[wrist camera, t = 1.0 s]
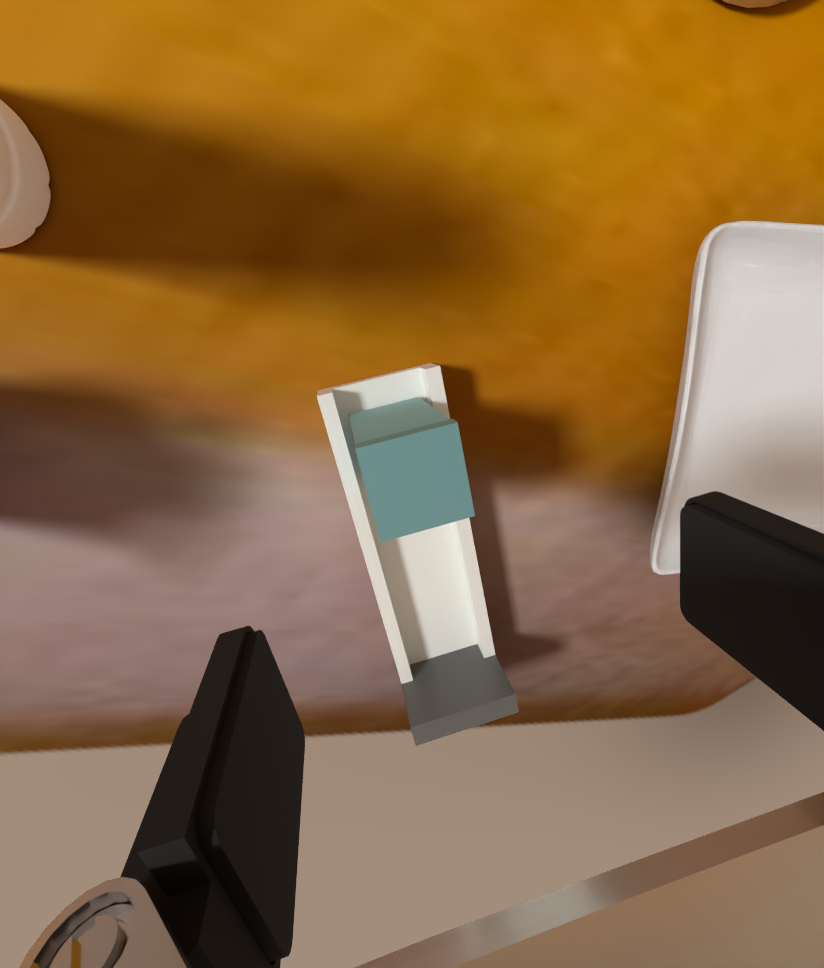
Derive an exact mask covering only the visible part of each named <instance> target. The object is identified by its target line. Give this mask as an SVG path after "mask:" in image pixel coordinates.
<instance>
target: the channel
mask: <svg viewBox="0 0 824 968" xmlns="http://www.w3.org/2000/svg"><path fill="white" fill-rule="evenodd" d="M415 397H419V398H420V399H422V400H423V401H425V402H426V403H428V404H429V405H430V406H432V407H433V408H435V409H436V410H438V411H439V412H441V413H442V414H443V415H445V416H446V417H448V418H449V419H450V415H449V410H448V405H447V400H446V394H445V389H444V384H443V379H442V373H441V368H440V366H439V365H436V364H432V363H428V364H424V365H420V366H416V367H412V368H408V369H404V370H399V371H395V372H391V373H387V374H383V375H379V376H375V377H371V378H367V379H363V380H359V381H355V382H351V383H347V384H343V385H338V386H334V387H330V388H326V389H322V390H318V393H317V399H318V402H319V405H320V409H321V412H322V415H323V419H324V422H325V426H326V429H327V432H328V436H329V439H330V443H331V446H332V449H333V453H334V456H335V460H336V463H337V466H338V470H339V473H340V477H341V480H342V483H343V487H344V490H345V493H346V497H347V500H348V504H349V507H350V510H351V514H352V517H353V521H354V524H355V527H356V531H357V534H358V538H359V541H360V544H361V548H362V551H363V554H364V558H365V561H366V565H367V568H368V571H369V575H370V578H371V582H372V585H373V588H374V592H375V595H376V599H377V602H378V605H379V609H380V612H381V616H382V619H383V622H384V626H385V629H386V632H387V636H388V639H389V643H390V646H391V649H392V653H393V656H394V660H395V663H396V666H397V670H398V673H399V677H400V680H401V683H402V688H403V693H404V698H405V703H406V707H407V712H408V717H409V722H410V727H411V731H412V734H413V737H414V740H415V744H416V746H417V745H420V744H423V743H426V742H429V741H432V740H435V739H438V738H441V737H444V736H447V735H450V734H453V733H456V732H459V731H462V730H466V729H469V728H472V727H475V726H478V725H481V724H484V723H487V722H490V721H493V720H496V719H499V718H502V717H505V716H508V715H511V714H515V713H518V712H519V710H518V705H517V699H516V694H515V692H514V690H513V688H512V686H511V684H510V682H509V680H508V678H507V676H506V674H505V672H504V670H503V669H502V667H501V665H500V663H499V661H498V659H497V657H496V655H495V650H494V645H493V640H492V634H491V629H490V624H489V619H488V614H487V608H486V603H485V598H484V593H483V587H482V582H481V577H480V572H479V567H478V561H477V556H476V551H475V546H474V540H473V535H472V530H471V525H470V520H469V518H466V519H463V520H459V521H456V522H452V523H449V524H445V525H441V526H438V527H434V528H431V529H427V530H424V531H420V532H417V533H413V534H409V535H406V536H402V537H399V538H395V539H392V540H388V541H385V542H380V538H379V535H378V531H377V527H376V524H375V520H374V517H373V513H372V509H371V506H370V502H369V498H368V495H367V491H366V488H365V484H364V480H363V477H362V473H361V469H360V466H359V462H358V459H357V455H356V451H355V447H354V444H355V441H354V437H353V432H352V428H351V424H350V419H349V415H348V414H352V413H356V412H360V411H364V410H368V409H372V408H376V407H380V406H384V405H388V404H392V403H395V402H399V401H403V400H407V399H411V398H415Z"/></svg>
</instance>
